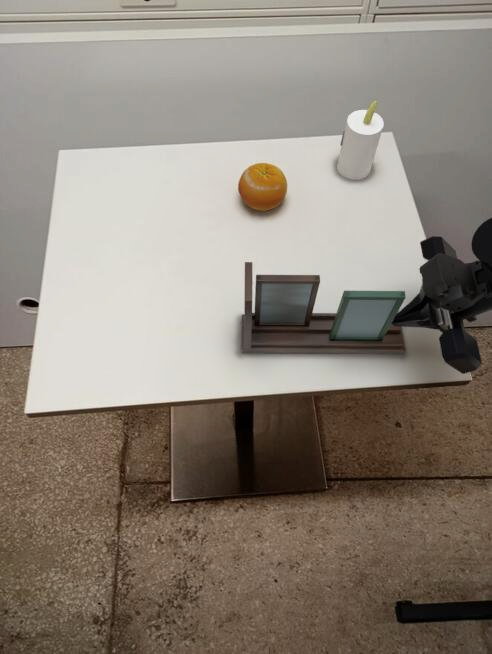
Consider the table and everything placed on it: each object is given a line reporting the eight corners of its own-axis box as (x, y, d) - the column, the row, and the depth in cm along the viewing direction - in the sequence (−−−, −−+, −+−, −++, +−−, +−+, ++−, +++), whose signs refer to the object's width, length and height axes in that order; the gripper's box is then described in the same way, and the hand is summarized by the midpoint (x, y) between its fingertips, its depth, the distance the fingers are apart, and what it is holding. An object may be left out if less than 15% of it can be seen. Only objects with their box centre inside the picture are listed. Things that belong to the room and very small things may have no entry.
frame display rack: (397, 320, 80) (429, 263, 66) (402, 354, 77) (437, 302, 64) (241, 318, 80) (241, 261, 66) (241, 352, 77) (240, 300, 64)
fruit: (299, 173, 90) (277, 151, 84) (288, 218, 89) (265, 199, 83) (260, 175, 95) (237, 154, 89) (250, 218, 94) (225, 200, 88)
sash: (380, 335, 77) (404, 290, 65) (381, 341, 76) (406, 297, 65) (328, 335, 77) (343, 290, 65) (329, 341, 76) (344, 296, 65)
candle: (338, 153, 98) (354, 83, 84) (372, 159, 97) (392, 90, 84) (333, 176, 95) (348, 108, 81) (367, 182, 94) (388, 115, 81)
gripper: (462, 192, 62) (354, 245, 71) (496, 325, 53) (369, 365, 63) (496, 233, 69) (394, 277, 78) (532, 356, 60) (412, 389, 70)
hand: (392, 322), depth 72 cm, fingers closed
